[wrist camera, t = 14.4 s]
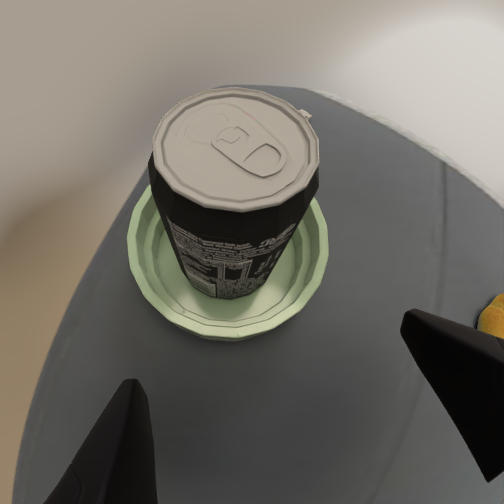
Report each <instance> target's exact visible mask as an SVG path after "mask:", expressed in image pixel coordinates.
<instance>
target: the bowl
mask: <svg viewBox="0 0 504 504" xmlns="http://www.w3.org/2000/svg"><path fill="white" fill-rule="evenodd" d="M127 246H128V256H129V264H130V268H131V271H132V274H133V276H134V278H135V280H136V282H137V284H138V286H139V288H140V290H141V292H142V294H143V296H144V297H145V298H146V299H147V300H148V301H149V302H150V303H151V304H152V305H153V306H154V307H155V308H156V309H157V310H158V311H159V312H160V313H161V314H162V315H163V316H165V317H166V318H167V319H168V320H169V321H170V322H172V323H173V324H174V325H176V326H177V327H178V328H180V329H182V330H185V331H187V332H189V333H191V334H194V335H196V336H198V337H201V338H203V339H206V340H216V341H229V342H237V341H241V340H245V339H249V338H253V337H256V336H260V335H263V334H265V333H267V332H269V331H271V330H272V329H274V328H276V327H277V326H279V325H280V324H282V323H283V322H285V321H286V320H288V319H289V318H291V317H292V316H294V315H295V314H296V313H298V312H299V311H301V310H302V309H303V307H304V306H305V305H306V303H307V302H308V301H309V299H310V298H311V297H312V295H313V294H314V292H315V291H316V290H317V288H318V287H319V285H320V283H321V281H322V277H323V274H324V270H325V267H326V264H327V260H328V257H329V249H328V232H327V225H326V222H325V220H324V217H323V215H322V212H321V210H320V207H319V205H318V202H317V201H316V199H315V198H314V197H313V199H312V201H311V203H310V205H309V207H308V209H307V211H306V212H305V214H304V216H303V218H302V220H301V221H300V223H299V225H298V227H297V228H296V230H295V232H294V234H293V236H292V237H291V239H290V241H289V243H288V244H287V246H286V248H285V250H284V251H283V253H282V255H281V256H280V258H279V260H278V262H277V263H276V265H275V267H274V269H273V270H272V272H271V274H270V275H269V277H268V279H267V281H266V282H265V284H264V285H262V286H261V287H260V288H258V289H257V290H256V291H254V292H253V293H252V294H251V295H249V296H245V297H241V298H237V299H233V300H225V299H218V298H211V297H209V296H207V295H205V294H204V293H202V292H200V291H199V290H197V289H195V288H194V287H193V286H192V285H191V283H190V282H189V281H188V279H187V278H186V277H185V275H184V274H183V272H182V270H181V268H180V265H179V263H178V261H177V258H176V256H175V253H174V251H173V248H172V246H171V243H170V241H169V238H168V235H167V233H166V230H165V228H164V225H163V222H162V220H161V217H160V214H159V212H158V209H157V206H156V203H155V201H154V198H153V195H152V192H151V185H149V186H148V187H147V188H146V190H145V192H144V193H143V195H142V196H141V198H140V200H139V201H138V203H137V204H136V206H135V208H134V210H133V213H132V217H131V221H130V226H129V230H128V234H127Z"/></svg>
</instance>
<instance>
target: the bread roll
mask: <svg viewBox="0 0 504 504" xmlns="http://www.w3.org/2000/svg"><path fill="white" fill-rule="evenodd" d="M477 330H479V331H482V332H485V333H488V334H491V335H494V336H495V337H496V336H497V337H500V338H503V339H504V293H503V294H500V295H498V296H497V297H496V298H495V299H494V300H493V301H492V303H491V304H490V305H489V306H488V307H486V308H485V309H484V310H483V311H482V313H481V314H480V316H479V319H478V326H477Z"/></svg>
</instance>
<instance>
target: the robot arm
mask: <svg viewBox="0 0 504 504" xmlns="http://www.w3.org/2000/svg"><path fill="white" fill-rule="evenodd" d="M400 333H401V336H402V338H403V340H404V341H405V343H406V345H407V347H408V349H409V350H410V352H411V354H412V356H413V358H414V360H415V362H416V363H417V365H418V367H419V368H420V370H421V372H422V373H423V375H424V376H425V378H426V379H427V381H428V382H429V384H430V385H431V387H432V388H433V390H434V391H435V393H436V395H437V396H438V398H439V399H440V401H441V402H442V404H443V406H444V407H445V409H446V410H447V412H448V414H449V415H450V417H451V419H452V420H453V422H454V424H455V425H456V427H457V429H458V430H459V432H460V434H461V435H462V437H463V439H464V441H465V442H466V444H467V446H468V448H469V450H470V451H471V453H472V455H473V457H474V459H475V461H476V462H477V464H478V466H479V468H480V470H481V472H482V474H483V476H484V478H485V480H486V481H487V482H488V483H489V482H490V481H492V480H493V479H494V478H496V477H497V476H498V475H500V474H501V473H502V472H503V471H504V339H503V338H500V337H497V336H496V337H495V336H494V335H491V334H488V333H485V332H482V331H479V330H476V329H473V328H471V327H468V326H465V325H462V324H459V323H456V322H453V321H450V320H447V319H444V318H441V317H439V316H436V315H433V314H430V313H427V312H424V311H421V310H418V309H411V310H409V311H407V312H405V314H404V317H403V321H402V325H401V328H400ZM43 504H158V502H157V490H156V477H155V458H154V442H153V435H152V428H151V421H150V413H149V405H148V398H147V395H146V393H145V392H144V390H143V388H142V386H141V384H140V382H139V381H138V379H135V378H134V379H125V380H124V381H123V382H122V383H121V385H120V386H119V388H118V389H117V391H116V393H115V394H114V396H113V397H112V399H111V400H110V402H109V403H108V405H107V406H106V408H105V409H104V411H103V413H102V414H101V416H100V417H99V419H98V420H97V422H96V423H95V425H94V427H93V428H92V430H91V431H90V433H89V435H88V436H87V438H86V439H85V441H84V443H83V444H82V446H81V447H80V449H79V451H78V452H77V454H76V455H75V457H74V459H73V460H72V464H70V465H69V467H68V468H67V470H66V472H65V473H64V475H63V477H62V478H61V480H60V481H59V483H58V484H57V486H56V487H55V489H54V490H53V491H52V493H51V494H50V496H49V497H48V498H47V499H46V501H45V502H44V503H43Z"/></svg>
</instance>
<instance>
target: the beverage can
mask: <svg viewBox="0 0 504 504" xmlns="http://www.w3.org/2000/svg"><path fill="white" fill-rule="evenodd" d="M152 148H153V151H152V154H151V157H150V159H149V162H148V169H149V177H150V185H151V192H152V195H153V198H154V201H155V203H156V206H157V209H158V212H159V214H160V217H161V220H162V222H163V225H164V228H165V230H166V233H167V235H168V238H169V241H170V243H171V246H172V248H173V251H174V253H175V256H176V258H177V261H178V263H179V265H180V268H181V270H182V272H183V274H184V275H185V277H186V278H187V279H188V281H189V282H190V283H191V285H192V286H193V287H194V288H195V289H197V290H199V291H200V292H202V293H204V294H205V295H207V296H209V297H211V298H218V299H225V300H233V299H237V298H241V297H245V296H249V295H251V294H252V293H253V292H254V291H256V290H257V289H258V288H260V287H261V286H262V285H264V284H265V282H266V281H267V279H268V277H269V275H270V274H271V272H272V270H273V269H274V267H275V265H276V263H277V262H278V260H279V258H280V256H281V255H282V253H283V251H284V250H285V248H286V246H287V244H288V243H289V241H290V239H291V237H292V236H293V234H294V232H295V230H296V228H297V227H298V225H299V223H300V221H301V220H302V218H303V216H304V214H305V212H306V211H307V209H308V207H309V205H310V203H311V201H312V199H313V197H314V195H315V193H316V191H317V189H318V187H319V175H318V165H319V144H318V137H317V136H316V134H315V132H314V130H313V128H312V127H311V125H310V123H309V122H308V120H307V118H306V117H305V116H304V115H302V114H301V113H300V112H299V111H298V110H296V109H295V108H294V107H293V106H292V105H290V104H289V103H288V102H287V101H284V100H282V99H280V98H277V97H275V96H273V95H270V94H268V93H265V92H263V91H259V90H252V89H244V88H236V87H230V88H221V89H213V90H206V91H203V92H201V93H198V94H196V95H193V96H191V97H189V98H187V99H184V100H182V101H180V102H179V103H178V104H177V105H176V106H174V107H173V108H172V109H171V110H170V111H169V112H168V113H167V114H166V115H164V116H163V117H162V118H161V121H160V123H159V125H158V127H157V130H156V132H155V135H154V137H153V139H152Z"/></svg>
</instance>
